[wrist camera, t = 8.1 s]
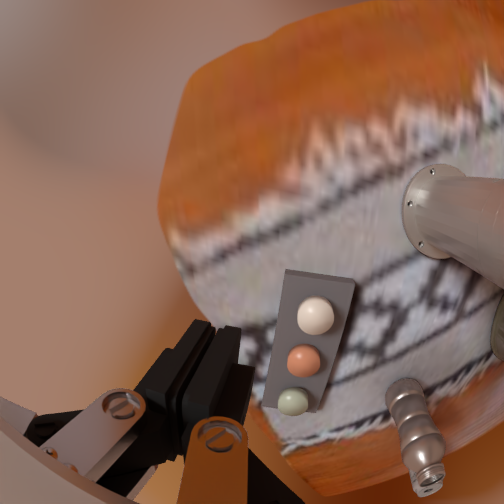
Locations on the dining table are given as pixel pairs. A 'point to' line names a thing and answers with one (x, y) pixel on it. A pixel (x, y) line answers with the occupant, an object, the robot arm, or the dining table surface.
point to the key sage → (293, 401)
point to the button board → (291, 334)
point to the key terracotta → (303, 360)
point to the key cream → (315, 315)
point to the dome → (498, 332)
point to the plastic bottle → (416, 431)
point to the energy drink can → (425, 490)
